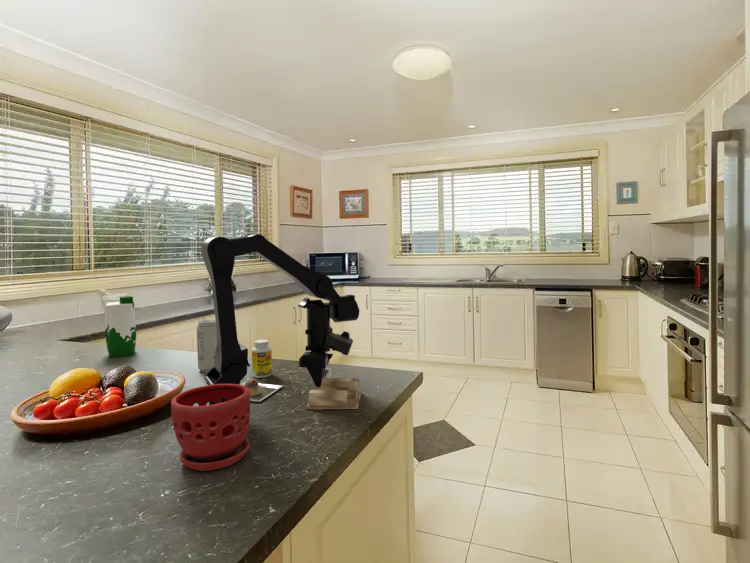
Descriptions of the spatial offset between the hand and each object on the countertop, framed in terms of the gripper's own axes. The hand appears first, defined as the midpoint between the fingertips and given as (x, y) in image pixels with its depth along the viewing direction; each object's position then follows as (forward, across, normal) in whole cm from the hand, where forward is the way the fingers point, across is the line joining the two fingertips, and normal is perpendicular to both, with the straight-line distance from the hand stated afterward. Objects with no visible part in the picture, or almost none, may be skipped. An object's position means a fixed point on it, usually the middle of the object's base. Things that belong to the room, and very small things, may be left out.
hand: (319, 385), depth 109 cm
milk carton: (+3, +38, +76) cm, 85 cm away
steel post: (+2, +8, -1) cm, 8 cm away
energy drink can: (+3, +20, +38) cm, 43 cm away
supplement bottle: (+3, +16, +20) cm, 25 cm away
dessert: (+3, +1, +18) cm, 18 cm away
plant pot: (+3, -32, +13) cm, 35 cm away
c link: (+2, -4, -4) cm, 6 cm away
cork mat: (+2, -4, -5) cm, 7 cm away
